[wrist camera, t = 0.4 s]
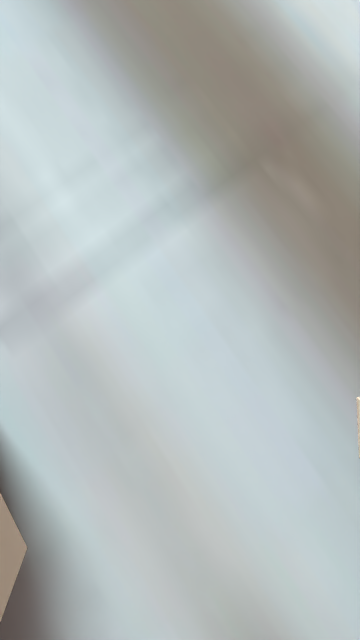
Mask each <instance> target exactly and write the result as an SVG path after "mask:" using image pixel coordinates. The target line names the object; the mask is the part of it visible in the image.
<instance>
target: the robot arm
mask: <svg viewBox="0 0 360 640" xmlns="http://www.w3.org/2000/svg"><path fill="white" fill-rule="evenodd" d="M357 420H358V443H359V458H360V397H357ZM26 551H27V546H26V544H25V542H24V540H23V538H22V536H21V534H20V532H19V530H18V528H17V526H16V524H15V522H14V520H13V518H12V516H11V514H10V512H9V510H8V507H7V505H6V503H5V501H4V499H3V497H2V495H1V493H0V622H1V619H2V616H3V613H4V611H5V608H6V605H7V602H8V600H9V597H10V594H11V592H12V589H13V586H14V583H15V581H16V578H17V575H18V572H19V570H20V567H21V564H22V561H23V559H24V556H25V553H26Z"/></svg>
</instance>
